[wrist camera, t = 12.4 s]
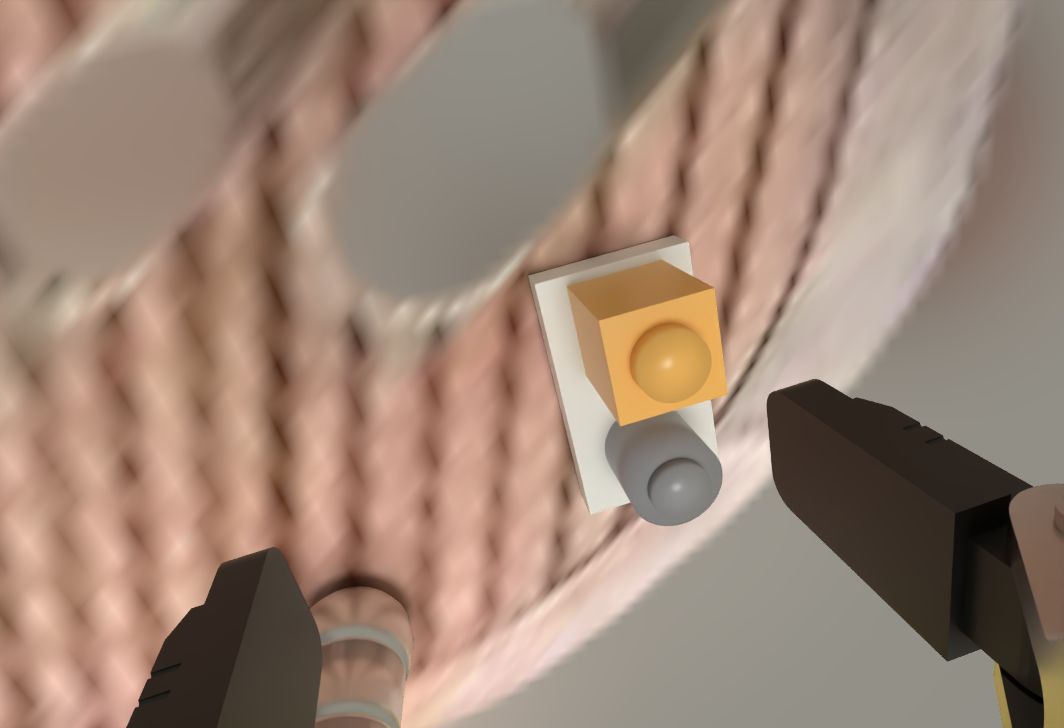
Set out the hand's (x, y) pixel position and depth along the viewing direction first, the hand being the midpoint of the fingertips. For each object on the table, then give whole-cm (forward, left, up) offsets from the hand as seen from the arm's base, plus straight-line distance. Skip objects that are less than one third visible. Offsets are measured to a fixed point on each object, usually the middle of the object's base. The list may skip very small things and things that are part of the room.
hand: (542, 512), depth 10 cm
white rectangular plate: (+7, -9, -23) cm, 26 cm away
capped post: (+7, -13, -21) cm, 26 cm away
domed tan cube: (+7, -5, -21) cm, 23 cm away
